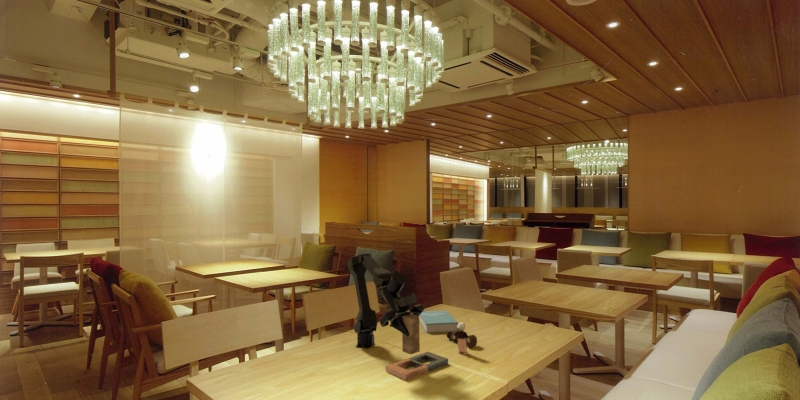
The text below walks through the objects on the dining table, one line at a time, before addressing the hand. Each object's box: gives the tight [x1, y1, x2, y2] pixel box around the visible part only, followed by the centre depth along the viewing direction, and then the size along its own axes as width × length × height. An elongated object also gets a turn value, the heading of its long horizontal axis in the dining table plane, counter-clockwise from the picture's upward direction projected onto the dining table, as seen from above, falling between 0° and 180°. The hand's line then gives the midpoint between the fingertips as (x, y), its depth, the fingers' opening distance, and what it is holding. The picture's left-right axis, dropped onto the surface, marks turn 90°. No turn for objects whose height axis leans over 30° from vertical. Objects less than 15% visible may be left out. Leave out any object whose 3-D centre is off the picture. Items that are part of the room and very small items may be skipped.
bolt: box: [446, 331, 478, 349], centre depth 182 cm, size 6×5×15 cm
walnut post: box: [401, 314, 421, 355], centre depth 153 cm, size 4×4×13 cm
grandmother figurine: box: [453, 321, 470, 356], centre depth 169 cm, size 8×4×13 cm, turn 65°
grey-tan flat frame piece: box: [385, 351, 449, 381], centre depth 155 cm, size 22×11×2 cm, turn 131°
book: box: [419, 310, 460, 334], centre depth 209 cm, size 23×16×5 cm
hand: (413, 334), depth 152 cm, fingers closed on walnut post, 4 cm apart
